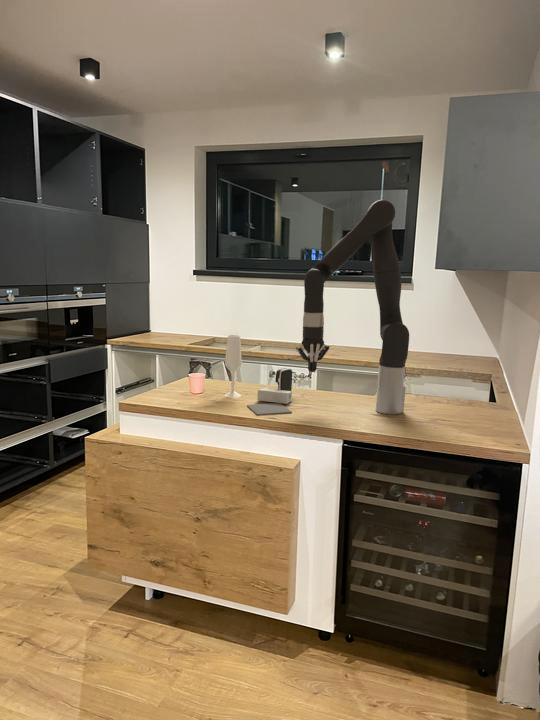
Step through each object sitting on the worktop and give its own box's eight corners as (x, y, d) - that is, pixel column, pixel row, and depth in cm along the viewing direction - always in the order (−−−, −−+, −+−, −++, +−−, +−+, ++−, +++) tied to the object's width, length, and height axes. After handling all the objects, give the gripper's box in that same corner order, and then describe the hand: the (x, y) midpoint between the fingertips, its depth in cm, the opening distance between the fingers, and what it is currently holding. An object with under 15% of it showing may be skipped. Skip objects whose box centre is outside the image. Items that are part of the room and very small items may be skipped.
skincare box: (291, 402, 201) (262, 398, 205) (292, 391, 201) (262, 387, 205) (287, 404, 196) (256, 400, 199) (287, 393, 195) (257, 389, 199)
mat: (279, 404, 197) (279, 402, 197) (291, 413, 186) (291, 411, 186) (247, 406, 193) (247, 404, 193) (257, 415, 182) (257, 414, 182)
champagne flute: (242, 394, 210) (243, 334, 206) (239, 398, 204) (241, 337, 199) (225, 393, 211) (227, 334, 206) (222, 397, 204) (223, 336, 200)
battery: (284, 394, 212) (285, 366, 210) (292, 396, 209) (293, 368, 207) (273, 397, 207) (274, 369, 205) (280, 399, 204) (281, 370, 202)
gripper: (325, 323, 195) (324, 368, 198) (292, 324, 190) (291, 370, 194) (334, 325, 188) (332, 372, 191) (300, 326, 184) (299, 374, 187)
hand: (312, 371), depth 192 cm, fingers closed
